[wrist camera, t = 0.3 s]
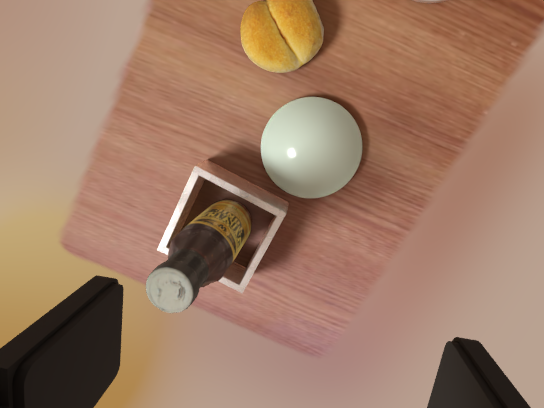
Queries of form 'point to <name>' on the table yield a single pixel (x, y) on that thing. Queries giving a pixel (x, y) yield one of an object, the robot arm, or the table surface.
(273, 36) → the bread roll
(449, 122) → the table surface
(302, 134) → the saucer
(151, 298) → the sauce bottle
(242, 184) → the square storage bin
